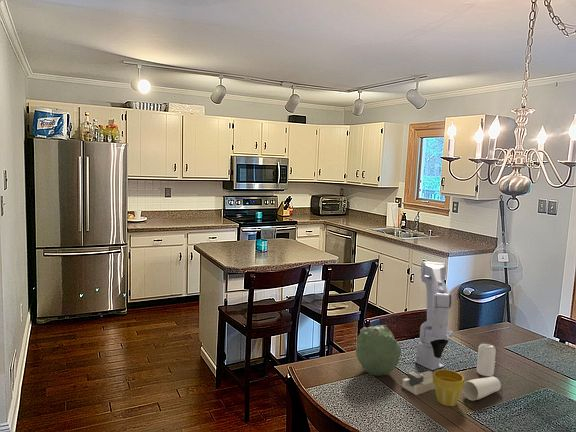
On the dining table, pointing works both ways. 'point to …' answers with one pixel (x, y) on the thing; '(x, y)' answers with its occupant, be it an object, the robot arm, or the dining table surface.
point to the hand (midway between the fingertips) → (437, 357)
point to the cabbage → (377, 350)
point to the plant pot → (447, 386)
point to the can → (486, 359)
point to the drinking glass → (481, 387)
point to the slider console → (420, 384)
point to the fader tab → (414, 378)
